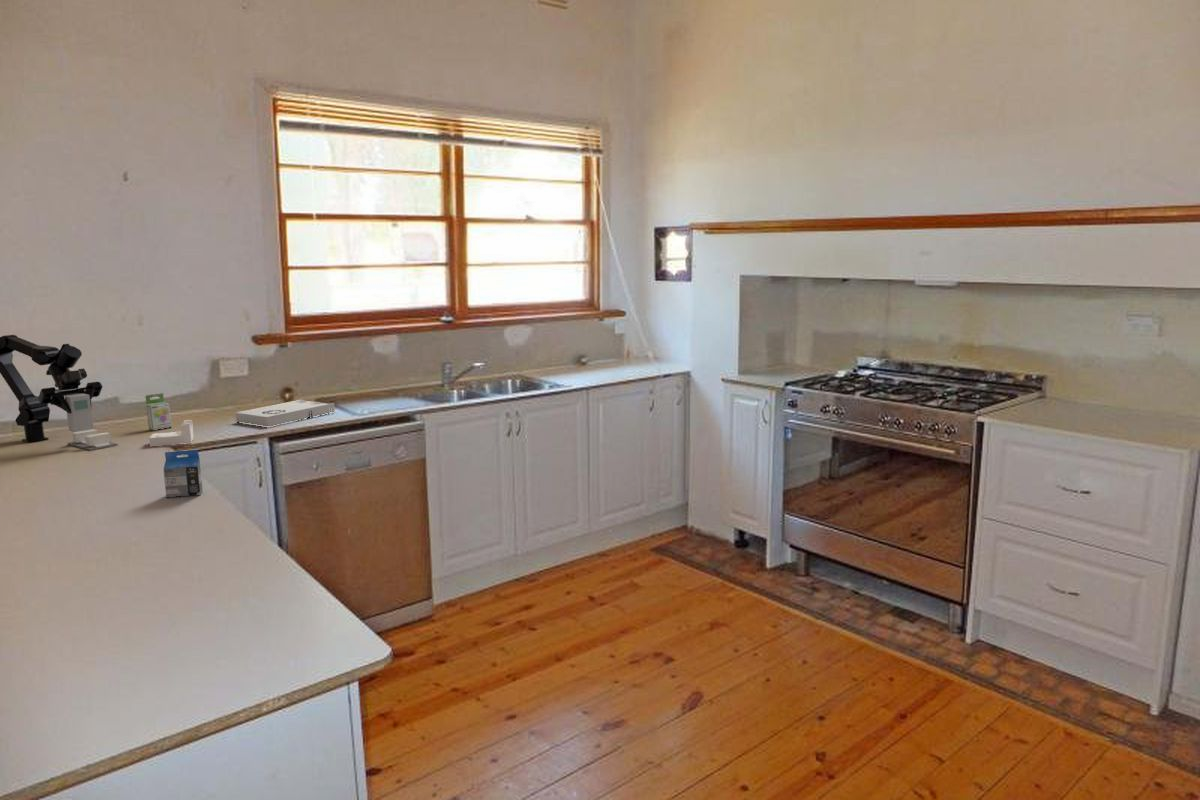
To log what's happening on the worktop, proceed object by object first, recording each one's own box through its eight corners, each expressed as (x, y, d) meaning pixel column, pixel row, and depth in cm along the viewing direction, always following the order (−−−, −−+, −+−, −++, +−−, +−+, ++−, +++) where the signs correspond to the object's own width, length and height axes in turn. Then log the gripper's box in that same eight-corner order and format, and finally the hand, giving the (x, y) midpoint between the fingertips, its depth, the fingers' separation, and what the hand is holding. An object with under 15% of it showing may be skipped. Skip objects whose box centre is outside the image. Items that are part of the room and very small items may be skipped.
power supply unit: (335, 414, 347) (334, 402, 346) (268, 429, 319) (266, 417, 318) (304, 410, 356) (303, 399, 356) (236, 424, 329) (235, 412, 328)
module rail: (67, 444, 295) (66, 432, 295) (94, 439, 303) (93, 427, 302) (90, 450, 286) (88, 438, 285) (117, 445, 293) (116, 433, 292)
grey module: (69, 430, 288) (64, 396, 286) (87, 427, 293) (83, 393, 291) (75, 432, 286) (70, 397, 283) (93, 428, 290) (89, 394, 288)
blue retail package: (165, 498, 230) (161, 455, 228) (169, 494, 234) (164, 451, 232) (200, 495, 232) (196, 452, 230) (203, 491, 236) (199, 449, 234)
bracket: (193, 440, 301) (191, 419, 300) (191, 444, 294) (189, 423, 293) (153, 443, 297) (151, 422, 295) (150, 447, 290) (148, 426, 289)
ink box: (153, 431, 315) (149, 396, 313) (148, 430, 318) (144, 395, 315) (172, 428, 321) (168, 393, 318) (167, 426, 323) (163, 392, 321)
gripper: (37, 365, 280) (55, 400, 276) (96, 358, 295) (115, 392, 290) (30, 386, 286) (48, 421, 282) (89, 378, 301) (107, 412, 297)
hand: (80, 411), depth 287 cm, fingers closed on grey module, 6 cm apart
